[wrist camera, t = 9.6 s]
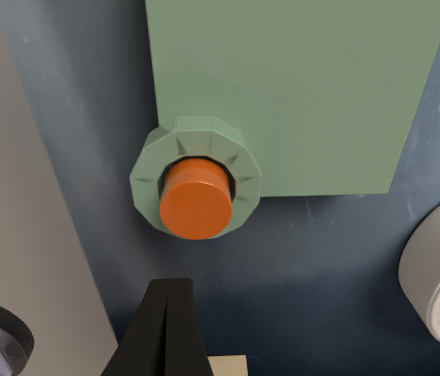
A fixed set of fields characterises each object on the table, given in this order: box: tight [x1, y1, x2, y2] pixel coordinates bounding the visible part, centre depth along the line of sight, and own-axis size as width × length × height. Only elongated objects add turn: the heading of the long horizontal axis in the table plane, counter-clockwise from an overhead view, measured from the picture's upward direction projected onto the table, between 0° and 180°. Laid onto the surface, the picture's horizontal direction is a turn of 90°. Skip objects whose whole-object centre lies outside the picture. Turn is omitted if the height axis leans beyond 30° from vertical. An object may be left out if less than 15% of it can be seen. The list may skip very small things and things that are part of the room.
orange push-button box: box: [129, 0, 440, 239], centre depth 14 cm, size 13×13×5 cm
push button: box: [159, 158, 232, 240], centre depth 14 cm, size 3×3×2 cm
